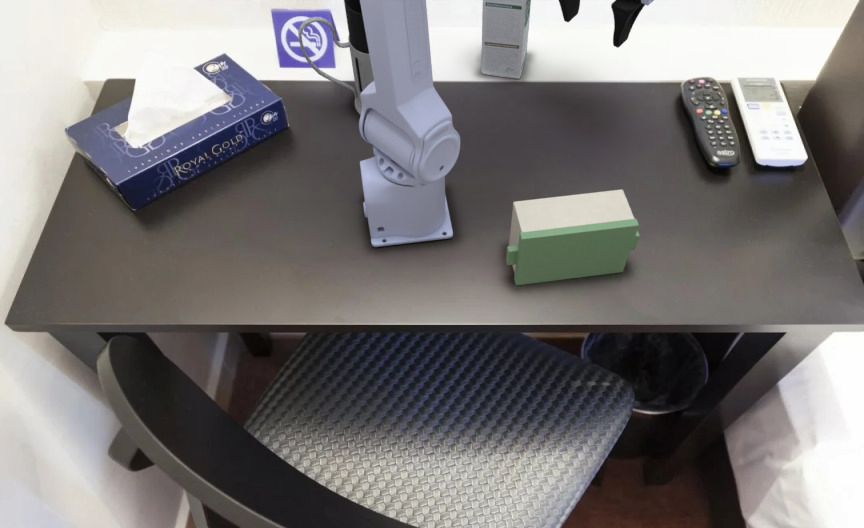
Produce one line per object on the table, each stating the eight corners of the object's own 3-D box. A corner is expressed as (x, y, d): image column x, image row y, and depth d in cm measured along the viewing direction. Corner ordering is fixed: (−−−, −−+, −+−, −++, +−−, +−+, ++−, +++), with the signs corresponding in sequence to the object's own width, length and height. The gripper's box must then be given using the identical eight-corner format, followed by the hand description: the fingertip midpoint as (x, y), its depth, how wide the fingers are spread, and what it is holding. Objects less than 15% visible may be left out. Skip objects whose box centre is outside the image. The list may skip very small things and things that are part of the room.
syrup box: (520, 80, 94) (530, -20, 81) (479, 74, 94) (482, -26, 82) (526, 55, 97) (536, -45, 85) (486, 50, 97) (491, -50, 85)
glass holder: (426, 116, 89) (421, 11, 77) (321, 137, 87) (299, 33, 74) (409, 76, 94) (402, -29, 81) (309, 95, 91) (286, -10, 79)
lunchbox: (618, 236, 78) (633, 187, 71) (631, 271, 75) (648, 224, 69) (498, 250, 77) (502, 202, 70) (506, 286, 74) (512, 240, 67)
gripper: (685, -74, 69) (663, 34, 81) (574, -119, 75) (569, -11, 87) (644, -37, 67) (628, 68, 79) (533, -86, 73) (534, 19, 85)
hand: (595, 29), depth 83 cm, fingers open, 7 cm apart
